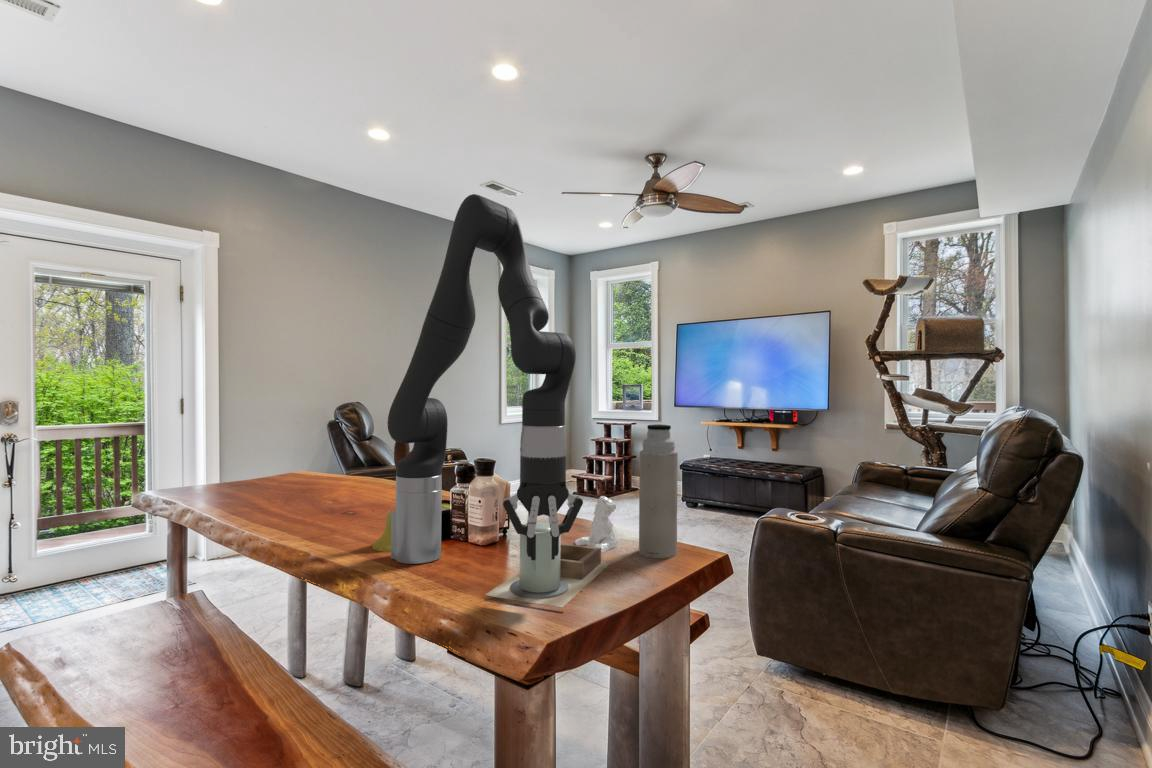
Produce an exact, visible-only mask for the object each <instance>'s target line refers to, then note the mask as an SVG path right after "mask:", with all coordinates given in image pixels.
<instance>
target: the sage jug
mask: <svg viewBox="0 0 1152 768" xmlns="http://www.w3.org/2000/svg"><path fill="white" fill-rule="evenodd" d="M522 525H525V526H527V522H526V523H522ZM561 535H562V534H561ZM561 535H560V536H559V553H558V556H555V559H554V560H551V555H552V536H551V531H550V523H549V521H547V522H546V521H537V522H536V527H535V538H536V549H535V560H531V557H528V555H527V537H526V536H525V535H523V534H519V572H520V578H519V586H520V588H521V589H523V590H525V591H529V592H550V591H553V590H556V589H558V588H559V587H560V560H561V542H562V541H561V539H562V538H561V537H562V536H561Z"/></svg>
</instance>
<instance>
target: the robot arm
mask: <svg viewBox="0 0 1152 768" xmlns="http://www.w3.org/2000/svg"><path fill="white" fill-rule="evenodd" d="M523 238H524V236H523V233H522V229H521V225H520V222H519V220H518V217H517V215H516V213H515V212H514V211H513V210H512V209H511V208H509V207H508V206H505V205H503V204H501V203H499V202H496V201H494V200H492V199H489V198H487V197H484V196H483V195H479V194H476V193H475V194H473V193H472V194H469V195H467V197H465V198H464V199H463V201H462V202H461V203H460V206H459V208H458V210H457V212H456V214H455V218H454V222H453V226H452V229H451V233H450V237H449V241H448V245H447V250H446V253H445V254H446V255H445V258H444V262H443V266H442V269H441V272H440V276H439V279H438V282H437V285H436V288H435V291H434V293H433V296H432V299H431V302H430V305H429V307H428V310H427V313H426V316H425V318H424V321H423V324H422V328H421V331H420V334H419V337H418V339H417V340H418V341H417V344H416V347H415V350H414V352H413V353H412V357H411V359H410V362H409V365H408V367H407V370H406V372H405V374H404V377H403V379H402V381H401V383H400V386H399V387H398V390H397V392H396V394H395V396H394V399H393V401H392V403H391V406H390V408H389V412H388V415H387V429H388V430H387V431H388V434H389V436H390V437H391V439H392V440H393V441H394V442H399V443H409V444H413V446H412V447H413V448H412V449H411V451H410V453H409V454H408V455H407V456H406V457H404V458H403V459H401V460H400V461H398V463H397V465H396V467H395V507H396V511H394V512H392V514H391V552H390V559H392V560H395V561H396V562H398V563H401V564H409V565H410V564H411V565H412V564H415V565H416V564H425V563H431V562H434V561H436V560H439V559H440V558H441V557H442V504H443V503H442V501H443V500H442V497H443V496H442V492H443V491H442V487H443V485H442V482H443V481H442V479H443V478H442V477H443V466H444V463H445V461H446V455H447V444H448V442H447V441H448V440H447V439H448V425H449V424H448V413H447V411H446V408H445V405H444V404H443V402H441V400H439V399H437V398H436V397H435V398H434V397H430V395H431V392H432V390H433V388H434V386H435V385H436V383H437V382H438V380H439V379H440V378H441V377H442V376H443V375H444V374H445V373H446V372H447V371H448V369H449V368H451V366H453V365H454V364H455V363H456V361H457V360H458V359H459V357H461V355H462V354H463V352H464V350H465V349H466V347H467V345H468V343H469V339H470V337H471V333H472V330H473V327H474V326H475V322H476V317H477V316H476V306H475V301H474V297H473V296H474V295H473V292H472V286H471V282H470V281H471V278H470V272H471V265H472V262H473V261H472V260H473V256H474V253H475V250H476V249H480V250H483V251H485V252H488V253H493V254H495V256H496V257H497V259H498V261H500V263H501V265H502V272H501V274H500V277H499V280H498V285H497V293H498V294H497V295H498V298H499V302H500V305H501V307H502V310H503V311H504V315H505V318H506V320H507V322H508V327H509V338H510V355H511V360H512V362H513V364H514V366H515V367H516V368H517V370H519V371H521V373H523V374H528V375H545V377H544V379H543V382H542V384H541V386H539V387H536V388H532V389H529V390H527V391H525V392H524V394H523V395H522V401H521V407H522V408H521V409H522V411H521V414H522V415H521V418H522V420H521V425H522V426H521V431H520V433H521V434H520V439H519V440H520V442H519V443H520V444H519V445H520V447H519V451H520V453H519V457H520V458H519V487H518V489H517V491H516V494H513V495H511V496H509V497H504V498H503V500H502V506H503V508H504V510H505V512H506V514H507V516H508V518H509V520H510V523H511V524H512V526H513V529H514V530H515V532H516V533H517V534H518V535H520V534H523V535H525V536H526V537H527V555H528V557H531V560H535V549H536V538H535V527H536V522H538V517H539V516H547V517H548V522H549V523H550V531H551V536H552V555H551V560H554V559H555V556H558V553H559V536H560V535H563V534H565V533H566V534H567V533H569V532H570V531H571V529H572V527H573V524H574V523H575V520H576V519H577V517H578V514H579V513H580V510H581V509H582V506H583V504H584V501H583V499H582V498H581V497H580V496H579V495H574V494H571V493H570V491H569V489H568V487H567V452H568V451H567V450H568V447H567V436H566V414H565V413H566V398H567V395H568V391H569V388H570V383H571V380H572V375H573V372H574V368H575V364H576V359H577V358H576V357H577V356H576V353H577V352H576V347H575V344H574V343H573V340H572V339H571V338H570V336H569V335H567V334H565V333H562V332H553V331H552V332H551V331H541V330H543V329H544V328H546V325H548V322H549V319H550V318H549V317H550V316H549V311H548V308H547V306H546V304H545V301H544V299H543V297H542V295H541V293H540V289H538V286H537V284H536V282H535V279H534V276H533V274H532V271H531V266H530V264H529V263H530V262H529V259H528V254H527V250H526V246H525V242H524V239H523ZM566 500H567V503H566V504H567V507H568V509H567V511H566V513H565V516H564V518H563V520H562V522H561V523H560V524H559V517H558V512H559V511H560V509H561V508H562V507H563V505H564V503H565V502H566ZM518 501H519V503H521V504H522V506H523V507H524V509H526V511H527V512H528V513H527V520H526V523H527V526H525V525H523V523H522V521H521V519H520V517H519V516H518V514H517V511H516V510H517V509H518V507H519V506H518Z"/></svg>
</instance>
